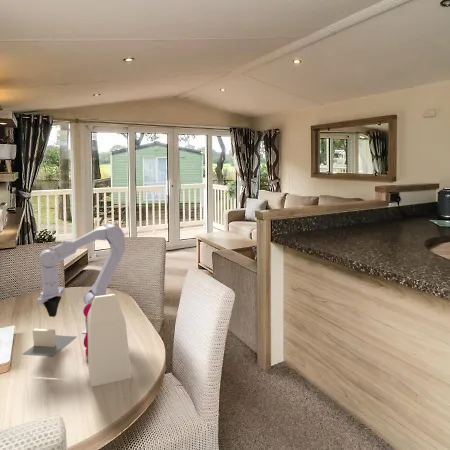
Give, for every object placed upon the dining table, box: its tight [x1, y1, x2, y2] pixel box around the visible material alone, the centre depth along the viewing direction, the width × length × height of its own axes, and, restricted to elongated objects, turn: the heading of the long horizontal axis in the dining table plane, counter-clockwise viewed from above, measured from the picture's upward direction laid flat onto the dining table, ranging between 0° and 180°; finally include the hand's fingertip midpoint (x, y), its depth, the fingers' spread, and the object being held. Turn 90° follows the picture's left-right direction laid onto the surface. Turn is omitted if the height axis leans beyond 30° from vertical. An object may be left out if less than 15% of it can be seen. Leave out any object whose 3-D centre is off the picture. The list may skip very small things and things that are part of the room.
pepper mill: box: [82, 299, 93, 357], centre depth 136 cm, size 7×7×20 cm
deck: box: [32, 328, 56, 347], centre depth 142 cm, size 8×2×6 cm, turn 81°
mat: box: [22, 334, 77, 357], centre depth 143 cm, size 12×16×1 cm
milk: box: [87, 293, 132, 388], centre depth 122 cm, size 12×12×26 cm
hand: (52, 316), depth 147 cm, fingers closed
